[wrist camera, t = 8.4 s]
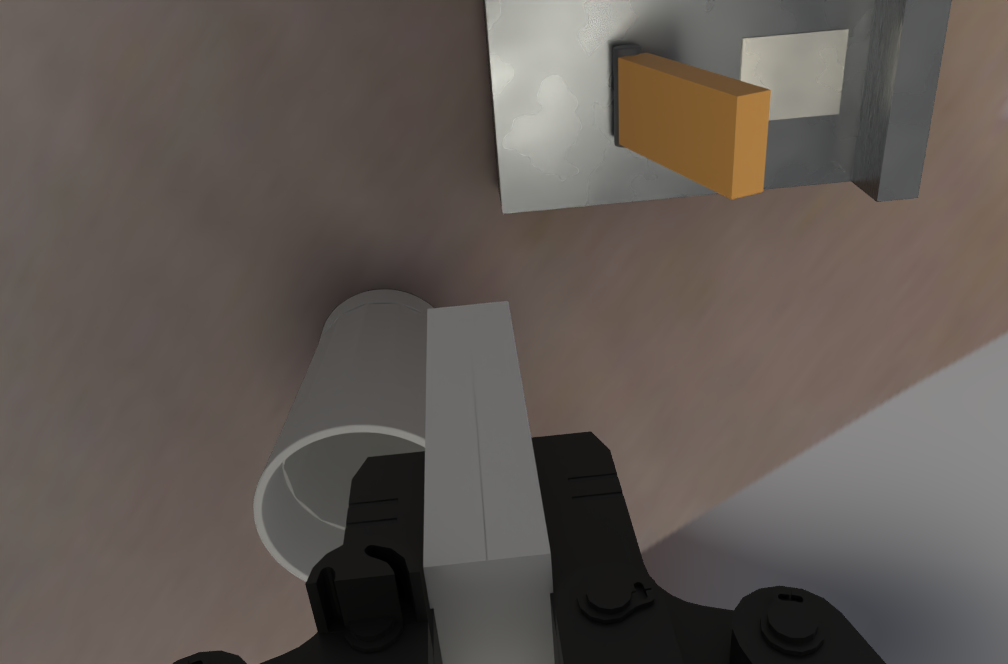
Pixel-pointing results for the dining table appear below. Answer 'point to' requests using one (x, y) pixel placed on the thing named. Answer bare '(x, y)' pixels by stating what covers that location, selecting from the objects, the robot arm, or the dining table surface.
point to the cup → (344, 423)
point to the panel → (726, 51)
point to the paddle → (691, 121)
